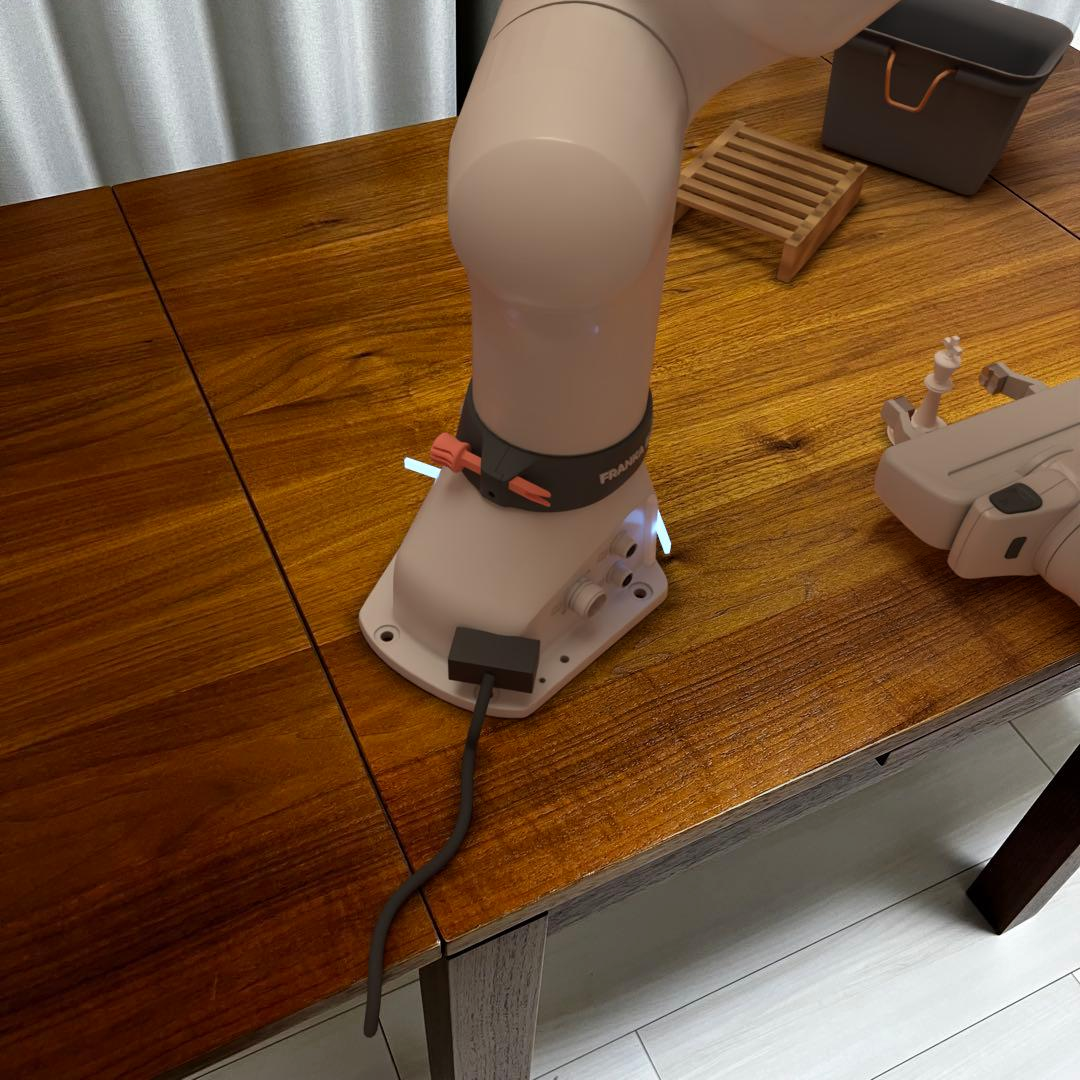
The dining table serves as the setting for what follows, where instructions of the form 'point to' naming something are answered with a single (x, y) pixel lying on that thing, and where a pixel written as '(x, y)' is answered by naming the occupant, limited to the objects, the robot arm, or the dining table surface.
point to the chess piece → (936, 388)
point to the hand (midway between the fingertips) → (939, 387)
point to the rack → (807, 232)
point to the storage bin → (939, 87)
